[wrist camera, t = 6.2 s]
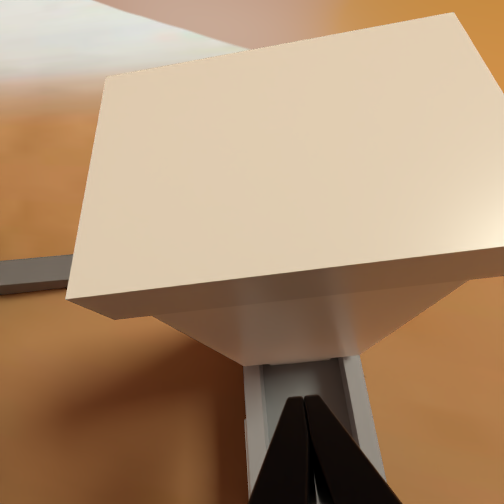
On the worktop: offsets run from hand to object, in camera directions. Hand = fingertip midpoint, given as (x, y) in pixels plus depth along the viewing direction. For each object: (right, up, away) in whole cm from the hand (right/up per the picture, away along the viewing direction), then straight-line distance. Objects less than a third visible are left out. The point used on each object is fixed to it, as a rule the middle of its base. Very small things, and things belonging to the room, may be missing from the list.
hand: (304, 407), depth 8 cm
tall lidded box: (+1, 0, +7) cm, 7 cm away
